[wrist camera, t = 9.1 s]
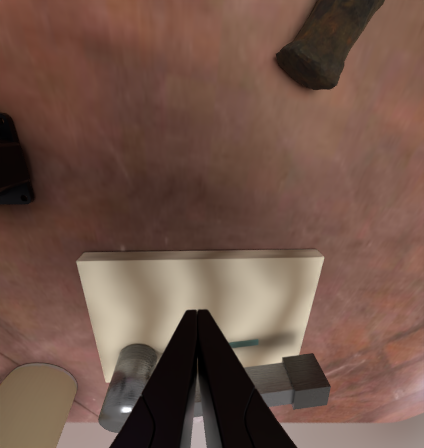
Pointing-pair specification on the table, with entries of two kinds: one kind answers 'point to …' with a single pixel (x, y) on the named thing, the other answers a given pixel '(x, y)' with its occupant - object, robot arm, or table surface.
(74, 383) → the lidded canister
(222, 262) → the board
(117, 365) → the lever
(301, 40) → the wooden log
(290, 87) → the table surface
